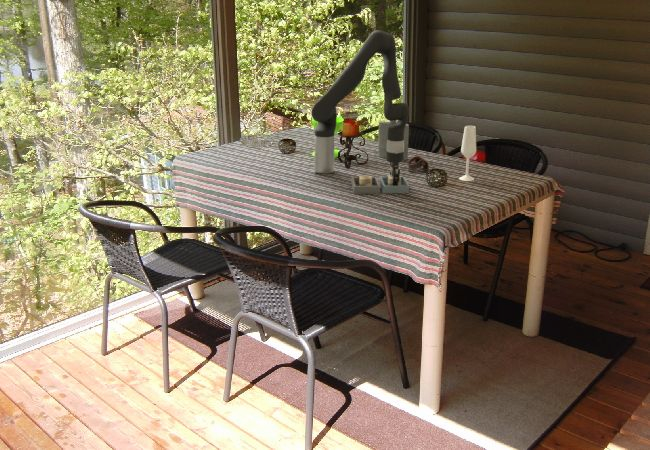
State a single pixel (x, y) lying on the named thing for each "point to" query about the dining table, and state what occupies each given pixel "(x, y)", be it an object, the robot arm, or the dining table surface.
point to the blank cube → (365, 181)
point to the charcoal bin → (365, 189)
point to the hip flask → (383, 138)
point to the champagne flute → (468, 148)
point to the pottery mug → (418, 163)
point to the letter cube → (390, 182)
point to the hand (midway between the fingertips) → (394, 187)
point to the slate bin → (394, 189)
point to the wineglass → (338, 126)
